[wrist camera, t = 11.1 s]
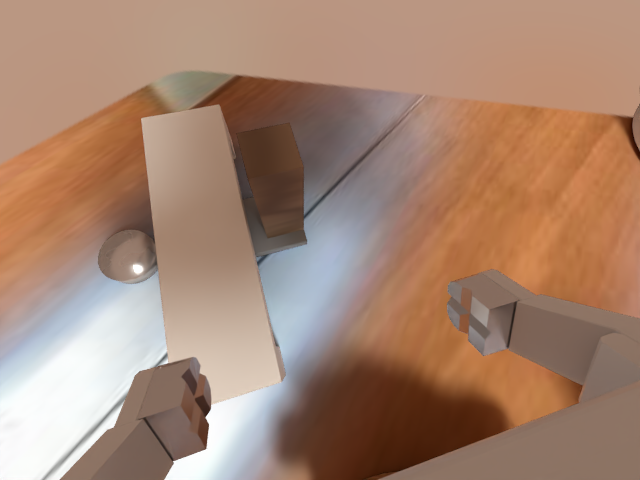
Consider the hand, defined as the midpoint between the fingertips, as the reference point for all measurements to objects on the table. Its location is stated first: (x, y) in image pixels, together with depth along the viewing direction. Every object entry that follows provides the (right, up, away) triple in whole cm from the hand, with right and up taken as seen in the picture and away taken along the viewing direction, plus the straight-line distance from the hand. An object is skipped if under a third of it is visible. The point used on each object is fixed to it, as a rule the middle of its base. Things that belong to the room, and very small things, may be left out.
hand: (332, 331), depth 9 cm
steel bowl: (-15, +1, +15) cm, 21 cm away
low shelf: (-9, +2, +15) cm, 17 cm away
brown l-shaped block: (-8, +3, +15) cm, 18 cm away
